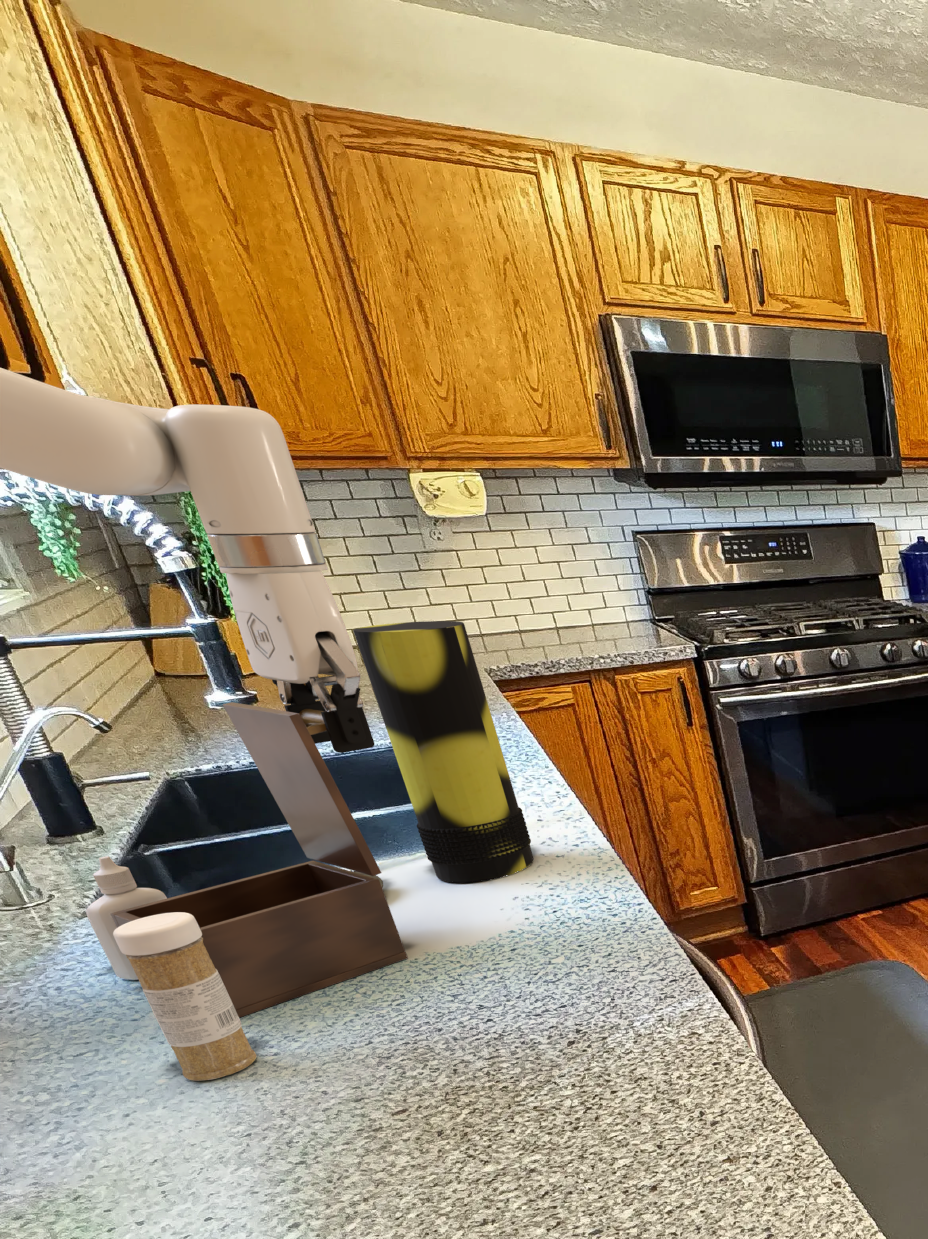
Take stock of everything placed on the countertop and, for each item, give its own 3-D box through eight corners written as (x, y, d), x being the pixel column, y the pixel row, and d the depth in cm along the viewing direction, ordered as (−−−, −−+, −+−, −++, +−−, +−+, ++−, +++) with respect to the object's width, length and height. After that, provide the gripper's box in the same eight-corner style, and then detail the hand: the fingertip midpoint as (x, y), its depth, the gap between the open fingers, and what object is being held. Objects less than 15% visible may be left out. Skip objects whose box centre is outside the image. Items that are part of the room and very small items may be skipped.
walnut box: (215, 1026, 89) (173, 937, 85) (151, 998, 94) (109, 913, 91) (408, 958, 102) (379, 879, 98) (342, 936, 107) (312, 860, 103)
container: (515, 849, 133) (446, 618, 121) (551, 865, 127) (482, 624, 115) (420, 872, 125) (336, 627, 113) (454, 891, 119) (368, 634, 107)
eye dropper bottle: (116, 972, 99) (60, 860, 94) (193, 953, 103) (143, 845, 98) (120, 985, 97) (62, 870, 92) (198, 965, 100) (147, 854, 96)
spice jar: (220, 1054, 84) (153, 910, 79) (273, 1054, 84) (209, 909, 79) (168, 1084, 80) (92, 933, 75) (223, 1084, 80) (152, 933, 75)
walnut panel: (289, 715, 90) (357, 698, 94) (222, 704, 95) (290, 688, 99) (373, 876, 98) (432, 853, 102) (306, 857, 103) (366, 836, 107)
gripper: (174, 554, 92) (247, 744, 99) (266, 559, 85) (338, 764, 92) (273, 550, 98) (336, 730, 105) (367, 555, 91) (427, 747, 98)
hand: (336, 744), depth 99 cm, fingers closed on walnut panel, 6 cm apart
